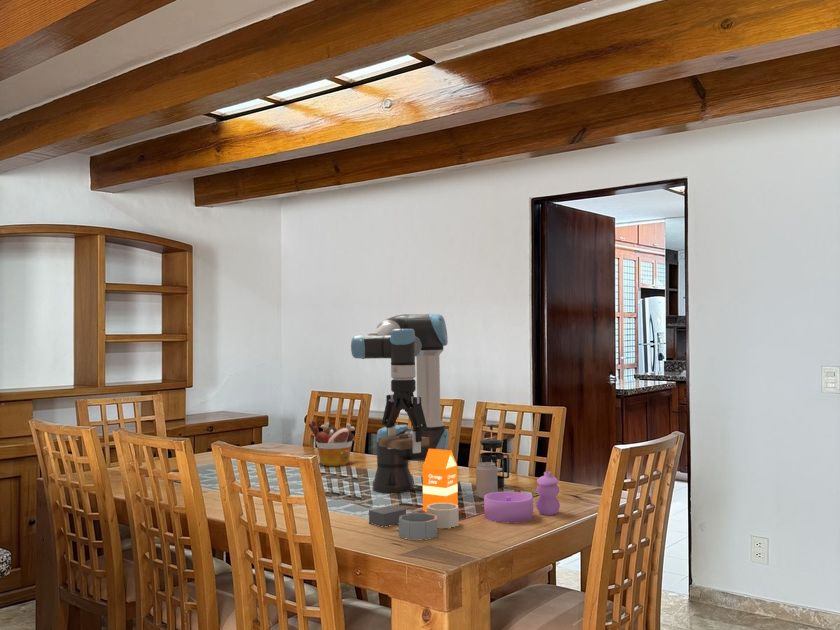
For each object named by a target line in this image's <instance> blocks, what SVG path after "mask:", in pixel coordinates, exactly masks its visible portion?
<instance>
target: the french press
mask: <svg viewBox="0 0 840 630" xmlns="http://www.w3.org/2000/svg"><path fill="white" fill-rule="evenodd" d="M497 426H498V425H496V424H486V425H485V427H489V430H490V438H489V439H481V440H479V443H480V444H481V445H482V446H483V447H484V448H486V449H490V452H489V451H488V452H480V453H479V463H482V460H486V462H491V463H495V466H496V467H497V473H501V472H502V475H498V474H497V479H498V489H502V487H503V488H505V487H504V486H505V479H509V478H510V459H509V458H510V455H509V454H508V453H501V452H496V451H495V452H494V451H493V449H501V448H503V443H504V440H502V439H495V438H493V428H495V427H497ZM505 456H506V468H507V469H506V472H507V473H506V475H505V458H504V457H505ZM498 460H501V461H502V463H501V467H499V466H498Z"/></svg>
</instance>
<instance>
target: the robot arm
mask: <svg viewBox="0 0 840 630" xmlns="http://www.w3.org/2000/svg"><path fill="white" fill-rule="evenodd" d="M447 345H448V332H447V325H446V321H445V318H444V316H443V315H441V314H438V313H437V314H436V313H419V314H418V313H416V314H415V313H414V314H411V313H410V314H407V313H406V314H399V315H395V316H391V317H388V318H386V319H384V320H382V321H380V323H378V324H377V326H376V328H375V329H374V330H372V331H371V332H369V333H368V334H366V335H364V334H360V335H354V336H352V338H351V343H350V351H351V355H352V358H354V359H362V360H365V359H390V378H391V380H390V388H391V389H390V390H391V392H393V394H387V395H386V397H385V398H386V403H385V406H384V412H383V416H382V420H381V424H382V426H384V427H381V428H379V429H378V430H377V433H376V464H377V465H376V472H375V476H374V480H373V481H372V490H373V491H375V492H379V493H385V494H386V493H388V494H391V493H395V494H396V493H405V492H409V491H412V490H414V480H413V479H412V474H411V472H410V468H409V462H410V461H414V462H416V461H417V462H421V461H422V462H425V459H426V456H427V453H428V450H429V449H440V450H448V447H449V438H450V430H449V429H448V428H445V423H444V422H443V421H442V420H441V380H440V377H441V373H440V371H441V369H440V367H441V366H440V356H441V354H442V352H444V347H445V346H447ZM415 378H416V380H415ZM415 391H416V396H415V395H414V392H415ZM401 411H404V412H405V413H406V414H407V415H408V419H409V421H410V423H411V425H412V428H409V426H408V425H407V424H396V422H397V420H398V417H399V415H400V413H401ZM399 434H408V435H412V447H413V448H411V449H404V450H400V449H394V448H388V447H382V446H379V439H378V438H381V437H389V436H396V435H399ZM422 437H428V438H429V446H424V447H421V441H422Z"/></svg>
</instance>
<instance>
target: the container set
mask: <svg viewBox="0 0 840 630" xmlns="http://www.w3.org/2000/svg"><path fill="white" fill-rule="evenodd" d="M536 483H537V486H536V487H535V489H536V493H537V495H538V496H539V498H538V499H537V500H536V505H535V507H536V509H537V511H538V512H539V514H540V513H541V515H543V514H544V515H543V516H553V514H555V515H557V513H558V512H559V510H560V508H561V504H560V500H559V499H558V498H557V496H558V495H559V493H560V487H559V486H558V484H559V479H558V478H557V477H555V476H553V475H552V471H544V472H543V475H542V476H540V477H538V478H537V480H536ZM483 506H484V507H483V509H484V510H483V513H484V514H483V515H484V516H483V517H484V519H486V520H487V519H488V521H490V520H491V521H490V522H494V521H496V523H501V522H505V523H504V524H507V523H506V522H509V523H508V524H517V523H516V522H520V523H524V522H525V521H526V522H529V521H531V520H533V519H534V496H533V495H532V494H529V493H525V492H520V491H498V492H494V493H489V494H486V495H485V496H484V499H483ZM514 522H515V523H514Z"/></svg>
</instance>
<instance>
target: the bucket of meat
mask: <svg viewBox="0 0 840 630" xmlns="http://www.w3.org/2000/svg"><path fill="white" fill-rule="evenodd" d="M329 425H330V422H328V421H327V422H325V424H321V426H320V428H321V429H324V430H322V431H319V427H318V423H317V421H316V420H315V419H313V420H311V422H309V423H308V427H309V428H310V430H311V432H312V433H313V435H314V437H315V439H316V440H315V444H316V449H317V453H318V457H319V461H320V463H321V464H322V465H323V466H324V465H327V466H326V467H340V466H339V465H342V466H345V465H347V464H348V462H349V459H350V454H351V451H352V447H353V446H352V445H353V441H354V438H355V436H356V435H355V434H354V433H353V432H352V431H355V430H356V428H355V427H354V426H351V424H350V423H348V422H347V423H346V427H343V426H339V427H338V429H337V428H336V427H335V425H331V426H329Z"/></svg>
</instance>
